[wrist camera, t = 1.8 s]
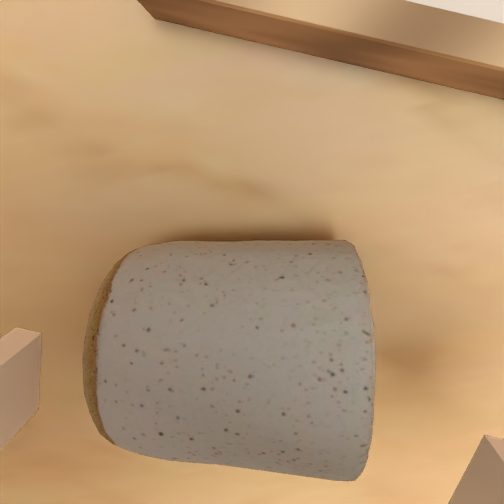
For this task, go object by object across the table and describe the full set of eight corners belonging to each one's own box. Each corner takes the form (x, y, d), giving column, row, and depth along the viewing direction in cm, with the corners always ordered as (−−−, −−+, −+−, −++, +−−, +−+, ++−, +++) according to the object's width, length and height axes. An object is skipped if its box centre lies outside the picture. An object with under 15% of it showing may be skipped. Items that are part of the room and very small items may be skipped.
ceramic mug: (145, 221, 15) (26, 300, 8) (338, 217, 15) (404, 298, 7) (170, 419, 18) (104, 605, 11) (329, 421, 18) (368, 618, 11)
